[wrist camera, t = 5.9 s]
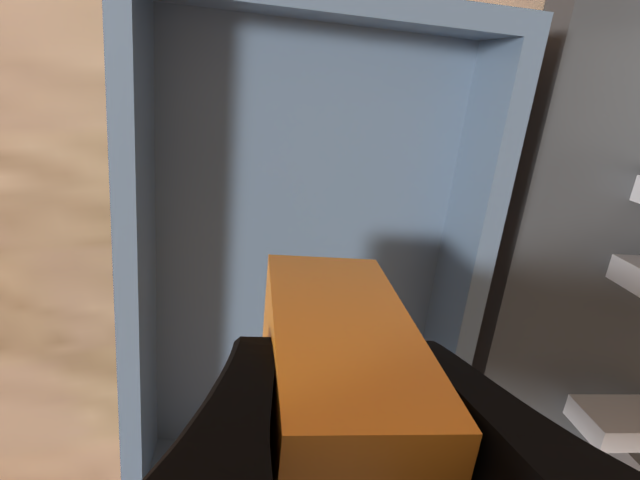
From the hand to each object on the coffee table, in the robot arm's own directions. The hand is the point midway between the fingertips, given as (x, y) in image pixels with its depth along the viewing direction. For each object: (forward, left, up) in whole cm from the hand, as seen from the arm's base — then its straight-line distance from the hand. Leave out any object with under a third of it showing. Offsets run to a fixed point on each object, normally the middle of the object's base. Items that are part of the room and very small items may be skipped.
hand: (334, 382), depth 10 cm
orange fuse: (-1, 0, -3) cm, 3 cm away
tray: (0, 0, -7) cm, 7 cm away
